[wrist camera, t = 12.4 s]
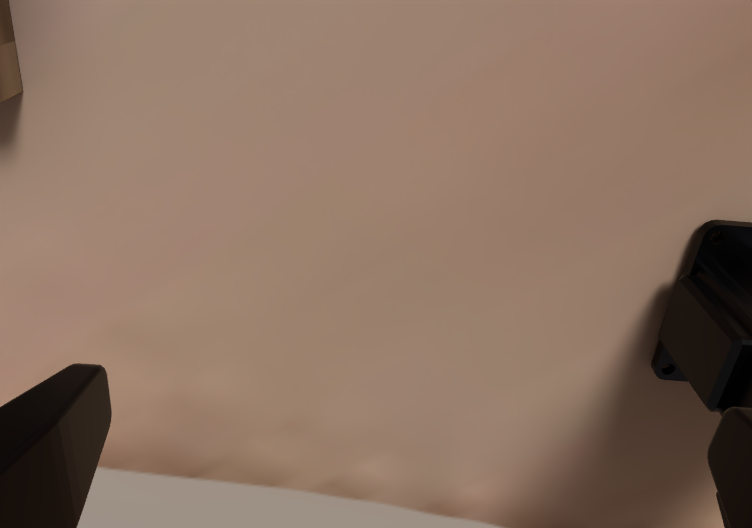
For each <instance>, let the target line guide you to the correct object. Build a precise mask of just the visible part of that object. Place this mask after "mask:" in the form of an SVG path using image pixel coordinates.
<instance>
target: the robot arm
mask: <svg viewBox="0 0 752 528" xmlns="http://www.w3.org/2000/svg"><path fill="white" fill-rule="evenodd" d="M718 231H720V234H719V235H718V237H716V238H715V239H712V240H710V237H711V236H712V234H714V233H715V232H718ZM658 337H659V339H660V340H659V343H658V345H657V348H656V351H655V354H654V357H653V359H652V363H651V367H652V369H653V371H654V373H655V374H656V376H657V377H659V378H660V379H663V380H675V381H689V383H690V384H691V386H692V387H693V388H694V390H695V391H696V393H697V394H698V396H699V397H700V399H701V400H702V402H703V403H704V404H705V406H706V407H707V408H708V410H710V411H711V412H719V413H720V414H721V416H722V418H721V421H720V423H719V425H718V427H717V430H716V432H715V434H714V436H713V439H712V441H711V443H710V446H709V449H708V463H709V467H710V470H711V473H712V476H713V479H714V482H715V485H716V488H717V491H718V492H717V493H716V496H717V500H718V504H719V508H720V511H721V515H722V519H723V523H724V527H725V528H752V223H750V222H738V221H725V220H711V221H709V222H706V223H705V224H704V225H703V226H701V228H700V229H699V231H698V233H697V236H696V239H695V242H694V245H693V247H692V250H691V253H690V256H689V259H688V261H687V264H686V267H685V270H684V273H683V275H682V276H681V277H680V278H679V279H678V281H677V283H676V286H675V289H674V292H673V294H672V297H671V300H670V303H669V306H668V308H667V311H666V314H665V317H664V320H663V323H662V325H661V328H660V331H659V334H658ZM666 364H670V365H669V366H668V367H666V368H663V366H665V365H666ZM111 413H112V412H111V403H110V395H109V387H108V379H107V373H106V370H105V368H104V367H102V366H101V365H94V364H79V363H77V364H72V365H70V366H68V367H66V368H65V369H63V370H61V371H60V372H58V373H56V374H55V375H53V376H51V377H50V378H48V379H46V380H45V381H43V382H41V383H40V384H38V385H36V386H35V387H33V388H31V389H30V390H28V391H26V392H24V393H23V394H21V395H19V396H18V397H16V398H14V399H13V400H11V401H9V402H8V403H6V404H4V405H3V406H1V407H0V528H76V527H77V525H78V522H79V519H80V516H81V513H82V510H83V507H84V505H85V501H86V498H87V495H88V492H89V489H90V486H91V483H92V479H93V477H94V473H95V471H96V468H97V465H98V462H99V458H100V455H101V452H102V449H103V446H104V443H105V440H106V437H107V434H108V431H109V427H110V423H111Z"/></svg>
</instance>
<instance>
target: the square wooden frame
mask: <svg viewBox="0 0 752 528" xmlns="http://www.w3.org/2000/svg"><path fill="white" fill-rule="evenodd" d="M21 92H23V90H22V83H21V77H20V71H19V65H18V58H17V52H16V46H15V40H14V33H13V27H12V21H11V15H10V8H9V2H8V0H0V103H1V102H3V101H5V100H7V99H9V98H11V97H13V96H15V95H17V94H19V93H21Z"/></svg>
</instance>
